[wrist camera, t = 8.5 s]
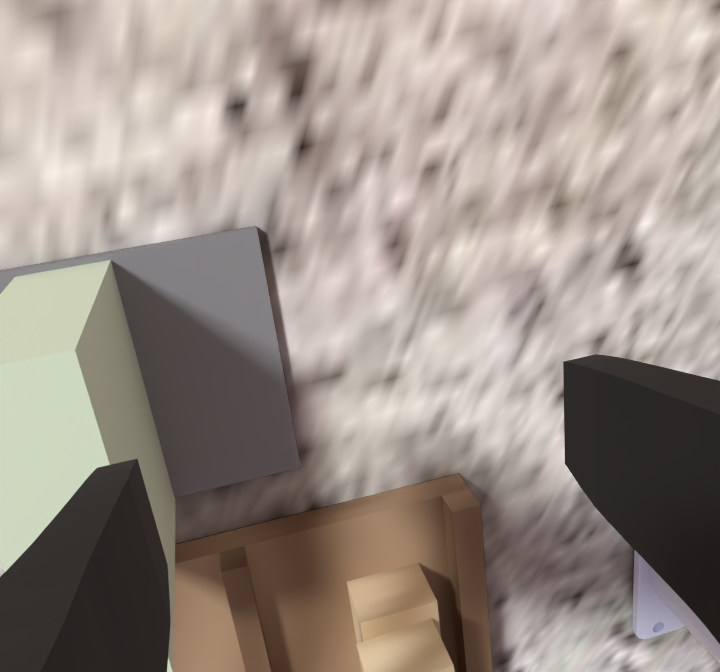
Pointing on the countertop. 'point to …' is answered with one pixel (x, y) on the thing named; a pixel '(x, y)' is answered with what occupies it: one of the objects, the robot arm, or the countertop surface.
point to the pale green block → (72, 405)
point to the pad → (204, 355)
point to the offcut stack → (397, 622)
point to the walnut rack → (329, 582)
